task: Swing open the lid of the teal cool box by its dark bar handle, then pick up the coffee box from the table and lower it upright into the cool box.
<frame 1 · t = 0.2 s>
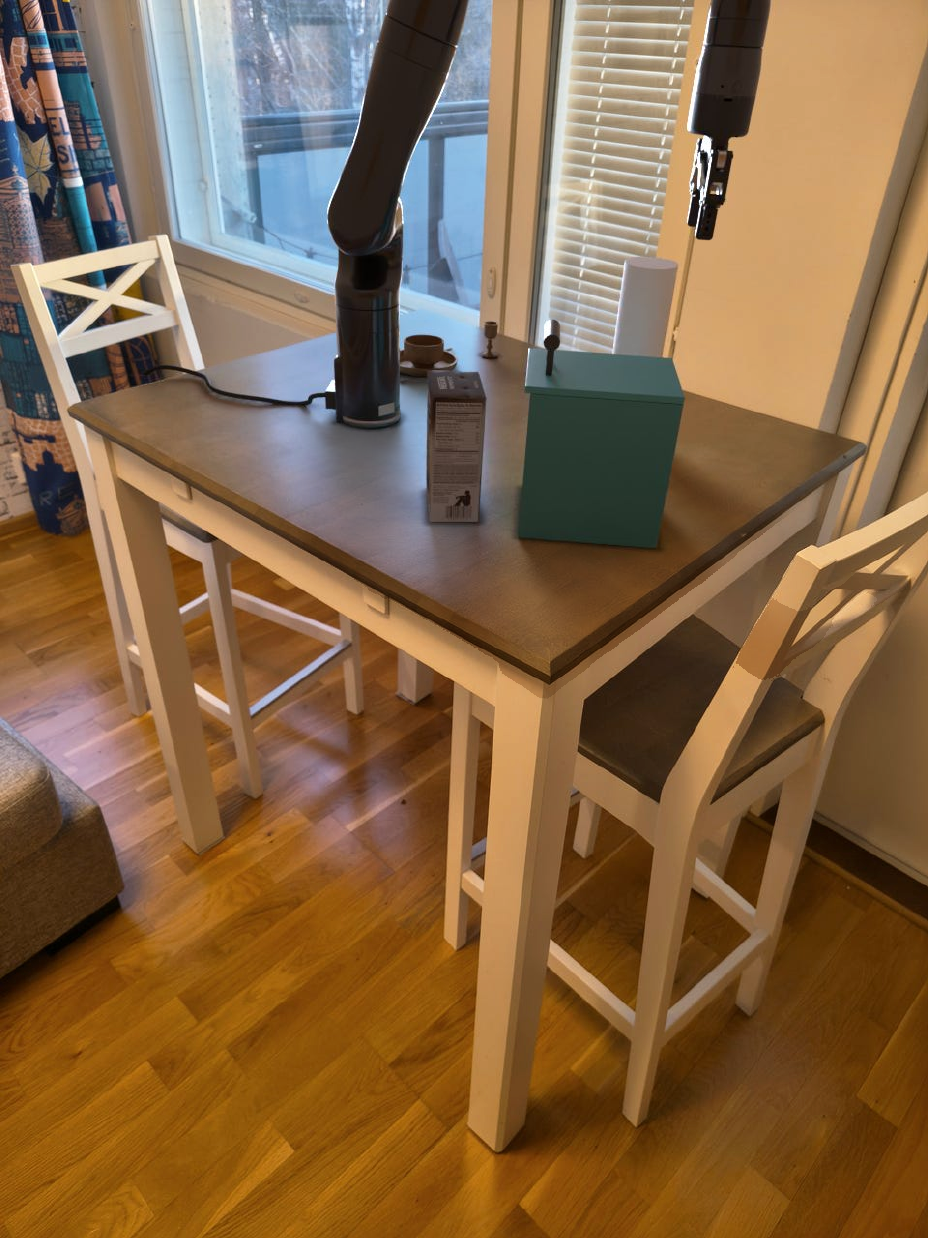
hand: (698, 232, 117), 29 cm above the table, tool pointing down, fingers open, 8 cm apart
place setting: (446, 368, 157), on the table
coffee box: (451, 507, 113), on the table
cool box: (585, 516, 112), on the table
cylindrical container: (624, 437, 134), on the table
cool box lid: (604, 354, 100), point 21 cm above the table, hinge at 0.0°
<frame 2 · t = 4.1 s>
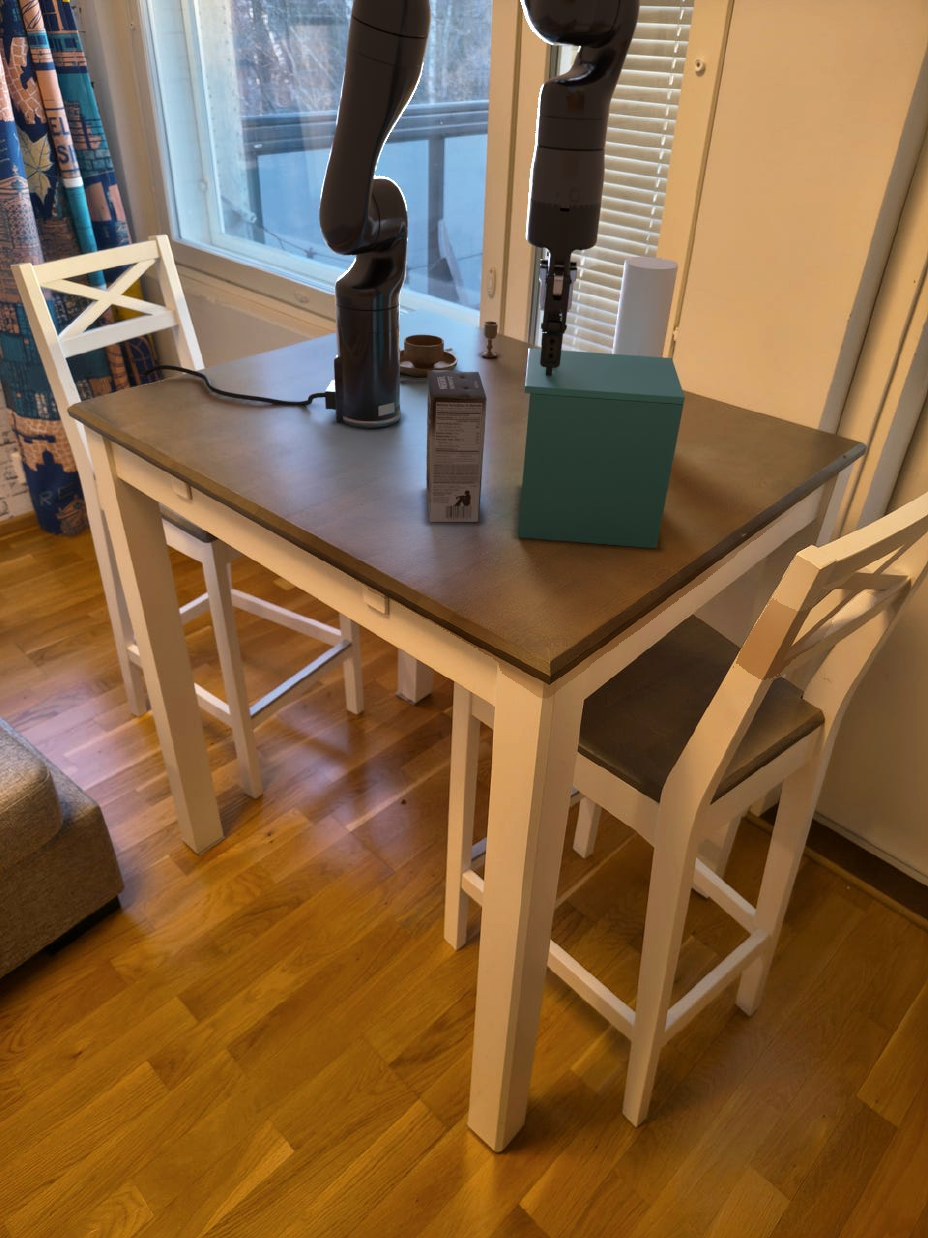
hand: (550, 356, 101), 20 cm above the table, tool pointing down, fingers closed on cool box lid, 6 cm apart
cool box lid: (604, 354, 100), point 21 cm above the table, hinge at 0.0°, touching gripper
everything else where it was.
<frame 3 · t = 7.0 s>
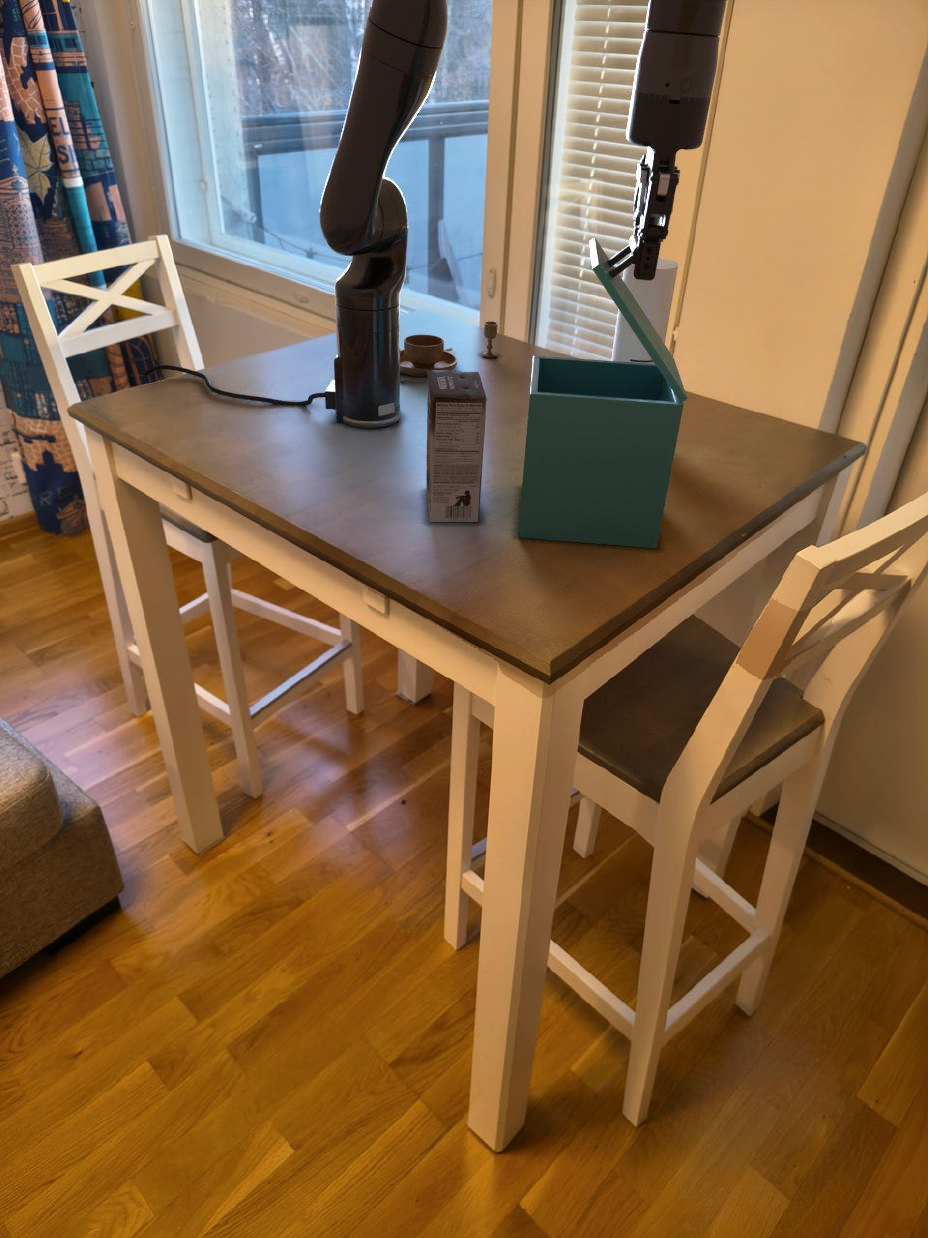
hand: (641, 270, 95), 30 cm above the table, tool pointing down, fingers closed on cool box lid, 6 cm apart
cool box lid: (655, 305, 97), point 26 cm above the table, hinge at 49.6°, touching gripper
everything else where it was.
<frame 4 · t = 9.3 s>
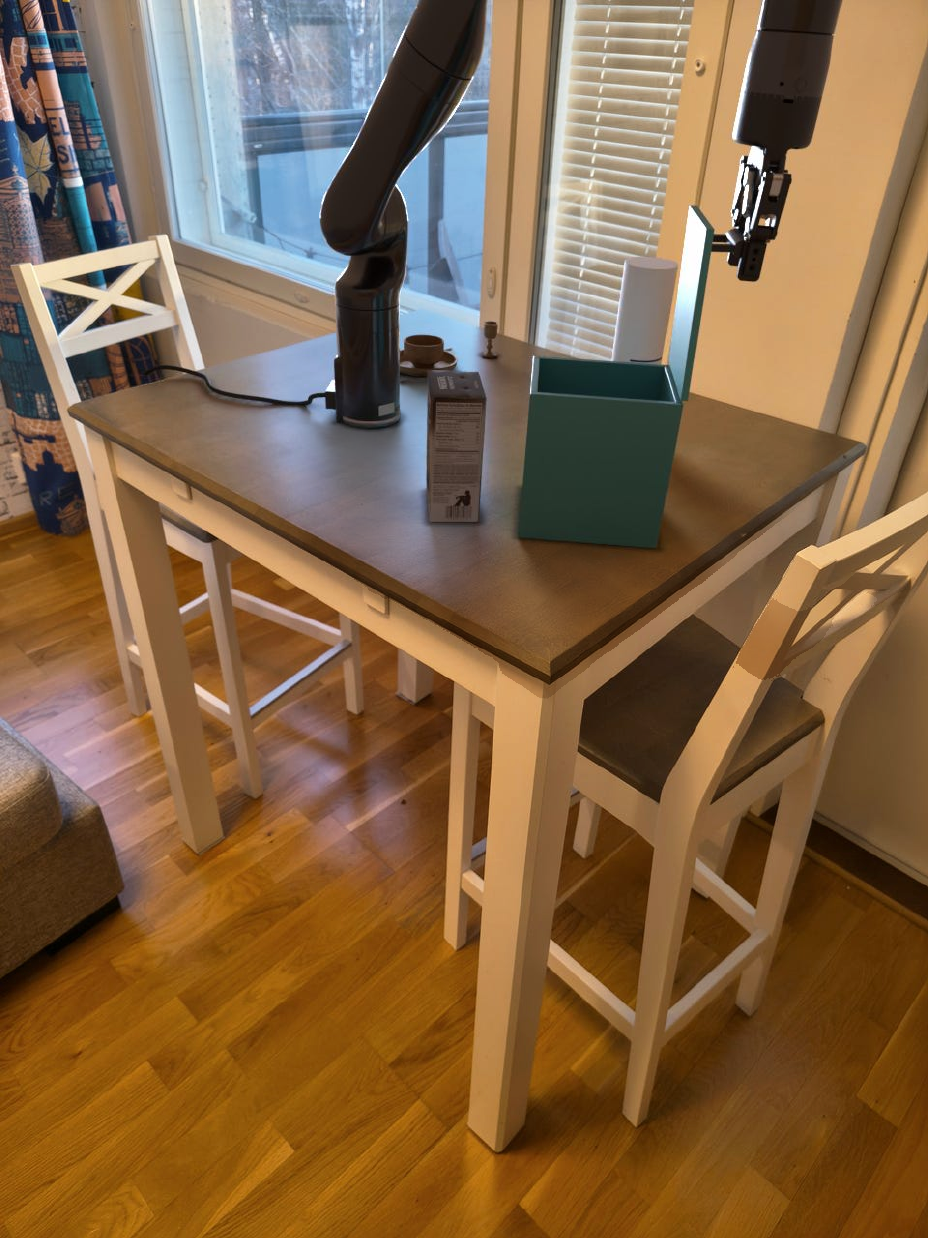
hand: (741, 272, 94), 30 cm above the table, tool pointing down, fingers closed on cool box lid, 6 cm apart
cool box lid: (710, 302, 96), point 27 cm above the table, hinge at 88.1°, touching gripper
everything else where it was.
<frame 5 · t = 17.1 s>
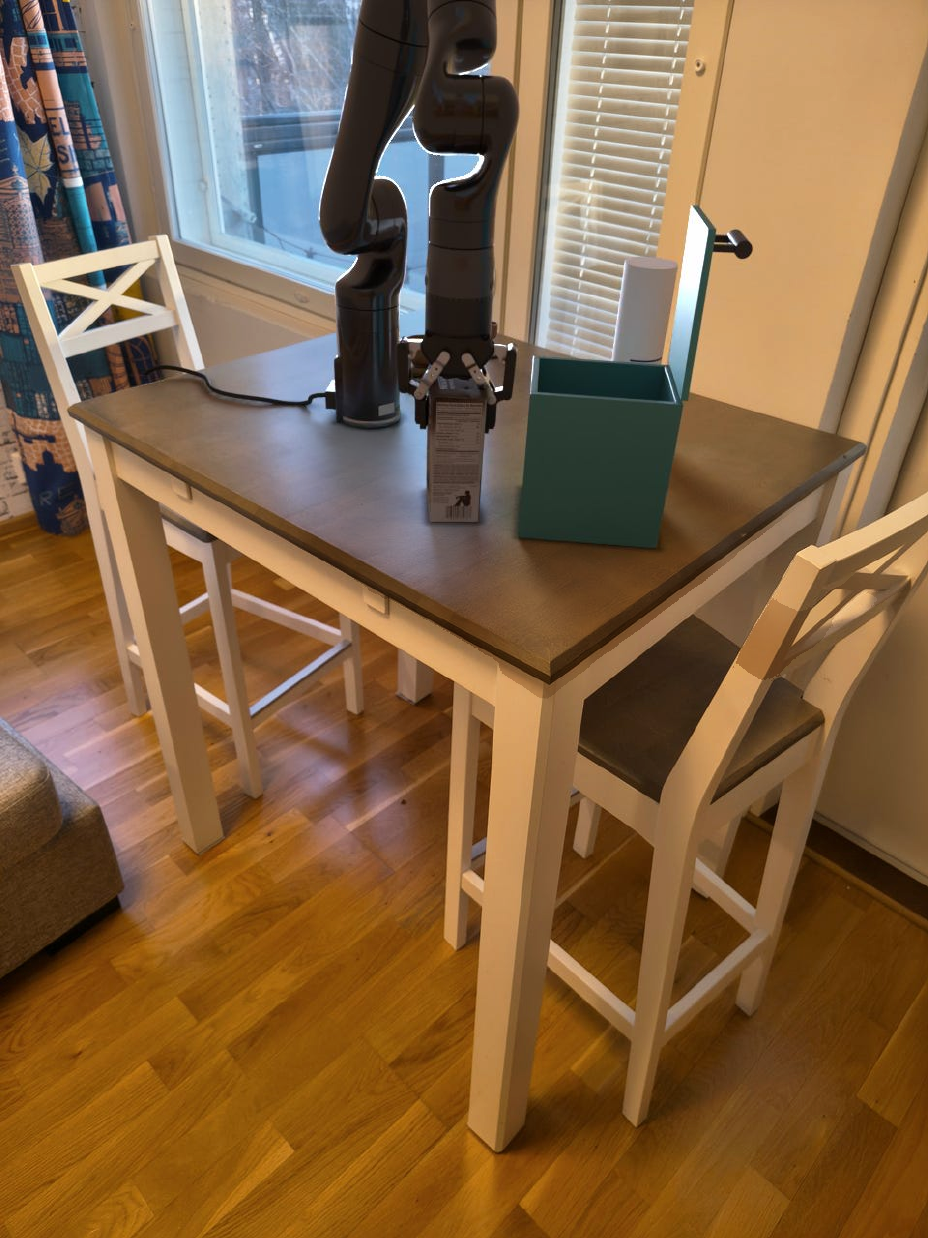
hand: (454, 428, 107), 10 cm above the table, tool pointing down, fingers closed on coffee box, 7 cm apart
coffee box: (451, 507, 113), on the table, touching gripper
cool box lid: (711, 303, 96), point 27 cm above the table, hinge at 88.7°
everything else where it was.
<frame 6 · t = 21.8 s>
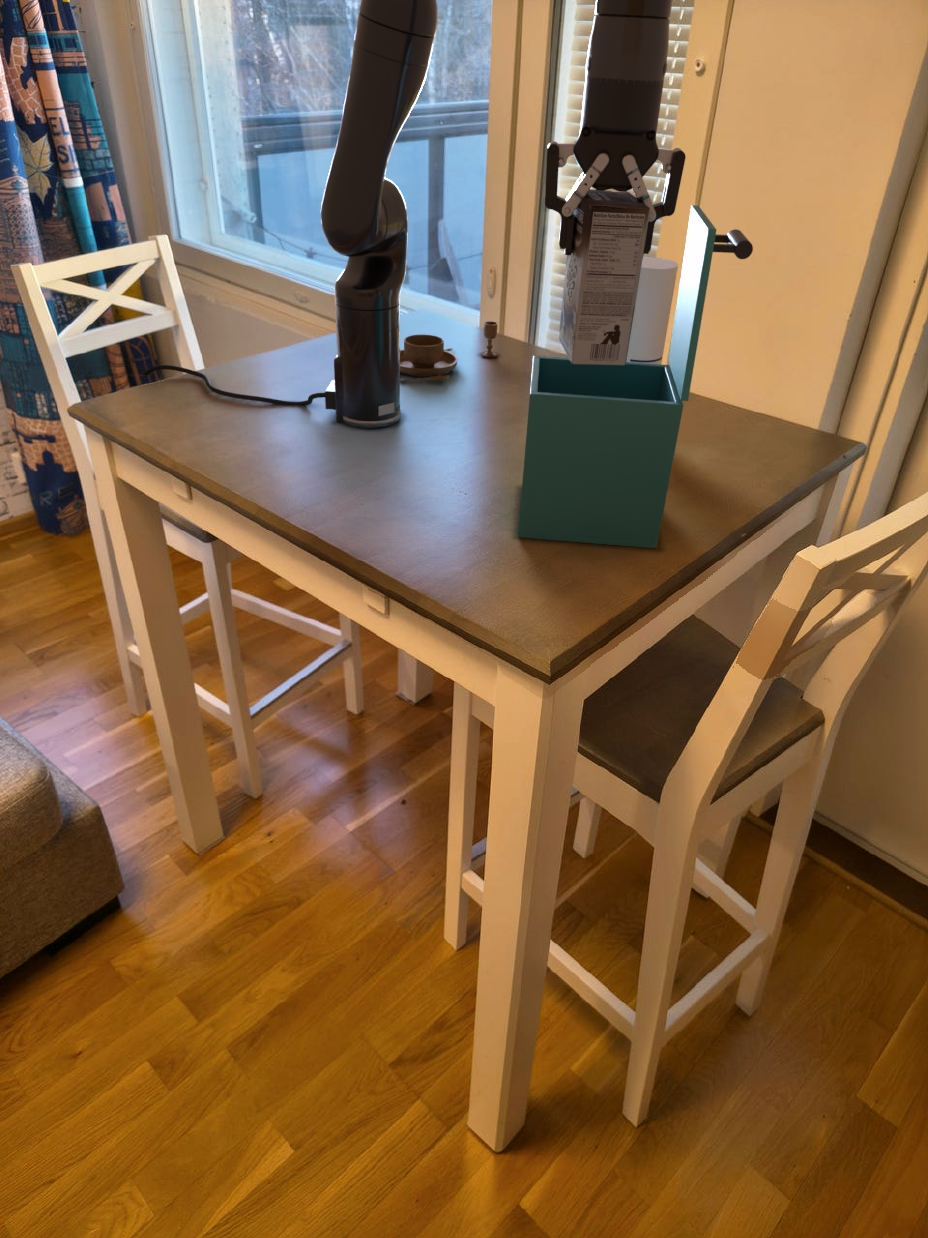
hand: (602, 255, 94), 31 cm above the table, tool pointing down, fingers closed on coffee box, 7 cm apart
coffee box: (590, 354, 100), point 20 cm above the table, touching gripper
everything else where it was.
when the fingers open (11 cm above the table, at t = 26.8 s): coffee box stays where it is, resting on cool box.
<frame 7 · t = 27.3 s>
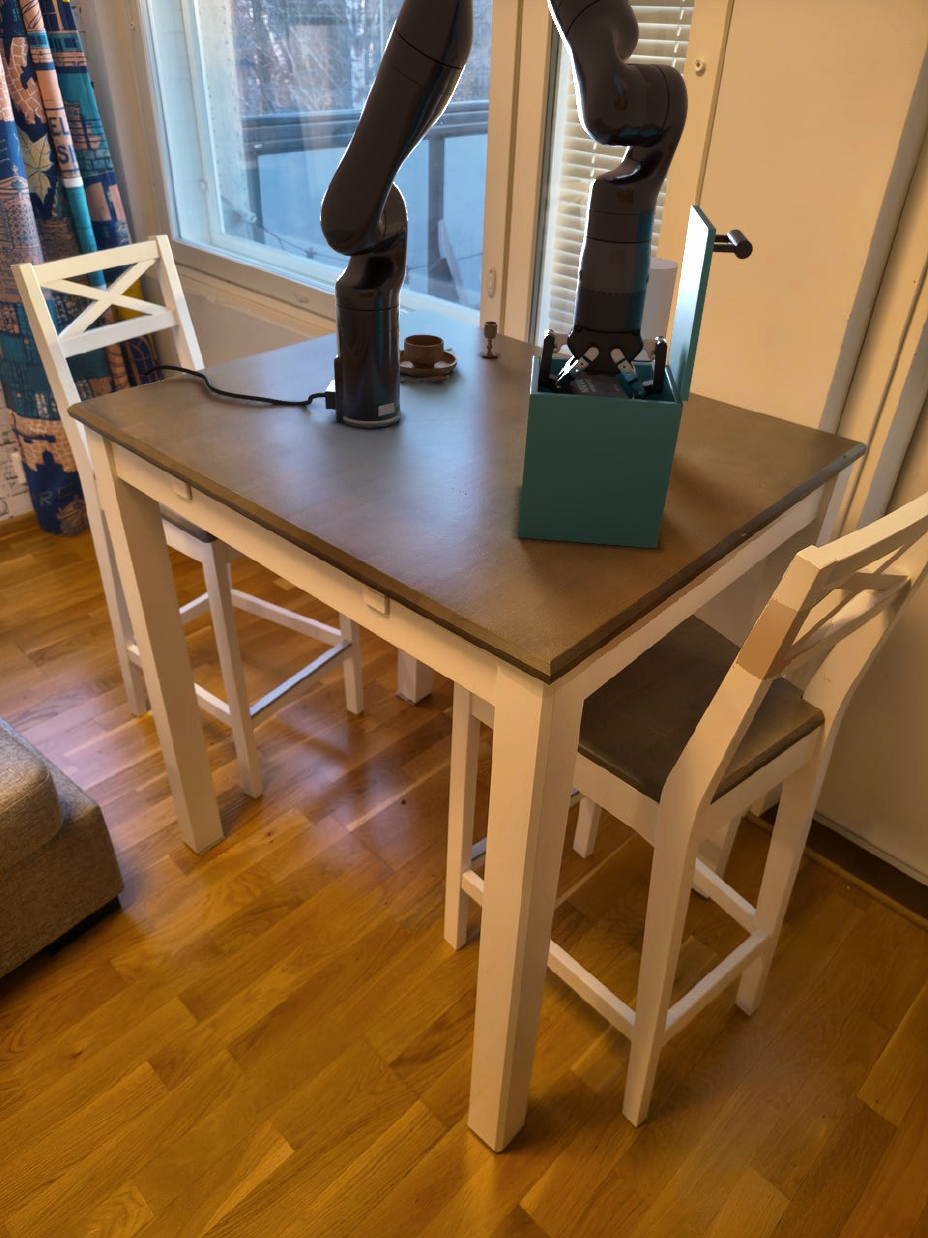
hand: (594, 423, 105), 12 cm above the table, tool pointing down, fingers open, 8 cm apart
coffee box: (580, 511, 111), point 1 cm above the table, touching cool box
everything else where it was.
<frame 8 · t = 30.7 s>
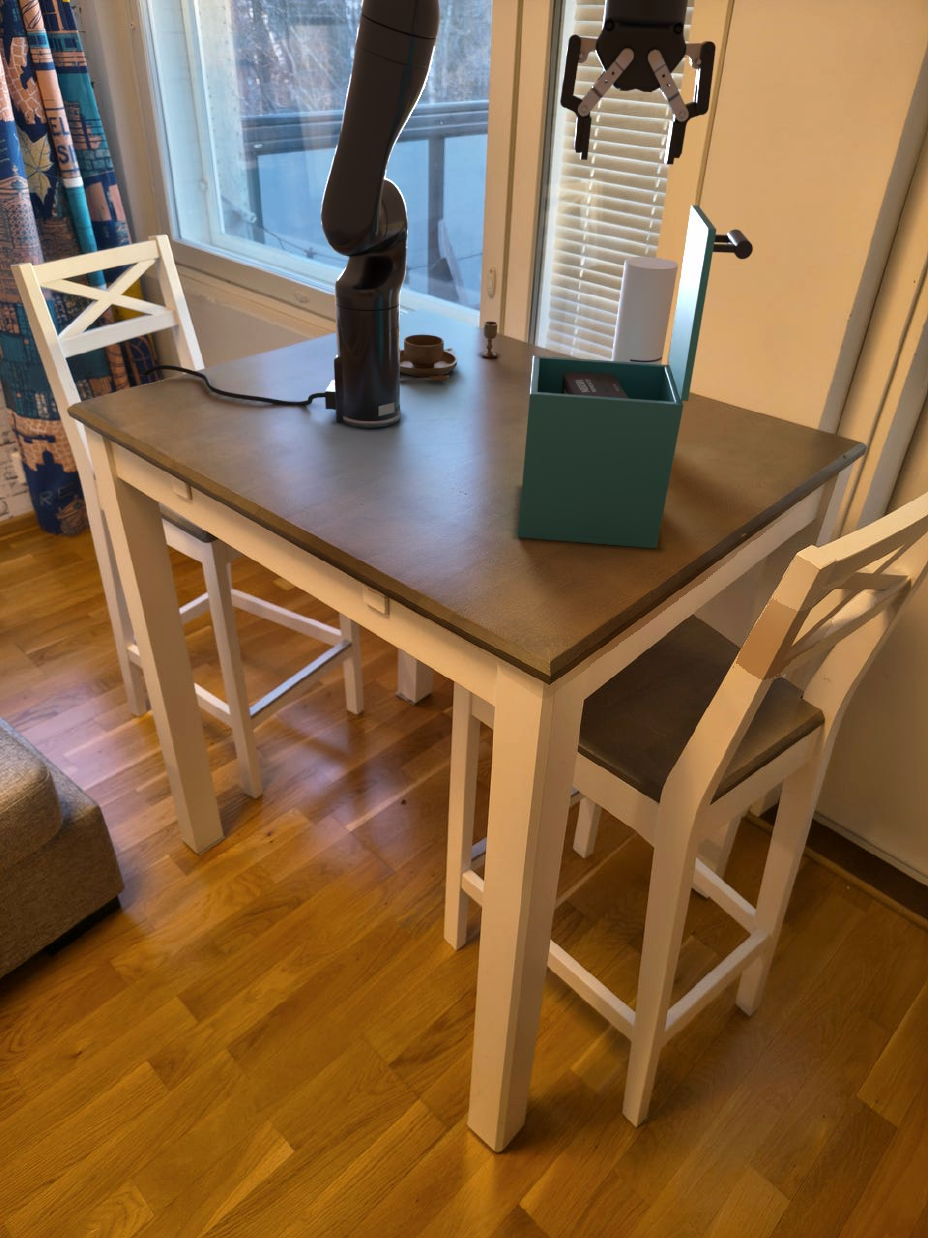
hand: (625, 161, 89), 40 cm above the table, tool pointing down, fingers open, 8 cm apart
nothing on the table moved.
at the end: cool box lid at +89° (first picture: +0°); coffee box inside the target area in the cool box (0.8 cm from its centre), point 0.6 cm above the cool box's base; coffee box tilted 0° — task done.
